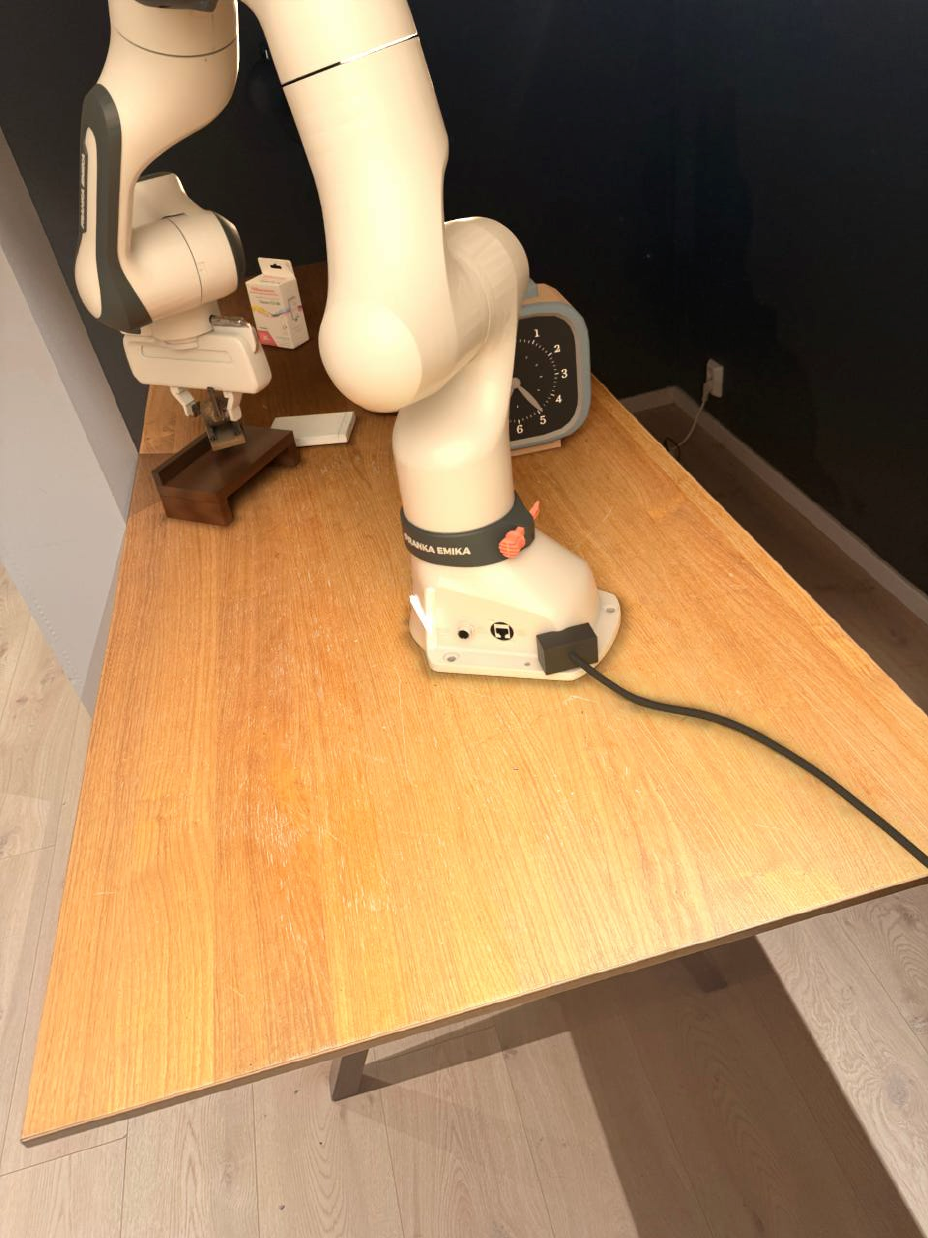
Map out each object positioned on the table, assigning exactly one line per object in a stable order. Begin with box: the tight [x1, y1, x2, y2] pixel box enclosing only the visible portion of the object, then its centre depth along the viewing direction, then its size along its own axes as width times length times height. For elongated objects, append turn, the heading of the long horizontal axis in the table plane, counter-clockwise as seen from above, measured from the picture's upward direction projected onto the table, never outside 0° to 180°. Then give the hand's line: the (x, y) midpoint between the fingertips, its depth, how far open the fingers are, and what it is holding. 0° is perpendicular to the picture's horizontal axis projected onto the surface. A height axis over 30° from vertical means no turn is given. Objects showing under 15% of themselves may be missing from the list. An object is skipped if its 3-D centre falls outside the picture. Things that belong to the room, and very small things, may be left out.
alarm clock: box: [509, 277, 592, 458], centre depth 127 cm, size 21×10×22 cm, turn 102°
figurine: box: [200, 387, 246, 451], centre depth 126 cm, size 14×4×9 cm, turn 20°
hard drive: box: [270, 411, 357, 448], centre depth 143 cm, size 2×8×12 cm
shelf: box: [151, 418, 301, 527], centre depth 130 cm, size 10×18×7 cm, turn 155°
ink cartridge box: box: [245, 257, 310, 350], centre depth 173 cm, size 9×5×15 cm, turn 58°
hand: (213, 417), depth 126 cm, fingers closed on figurine, 5 cm apart
